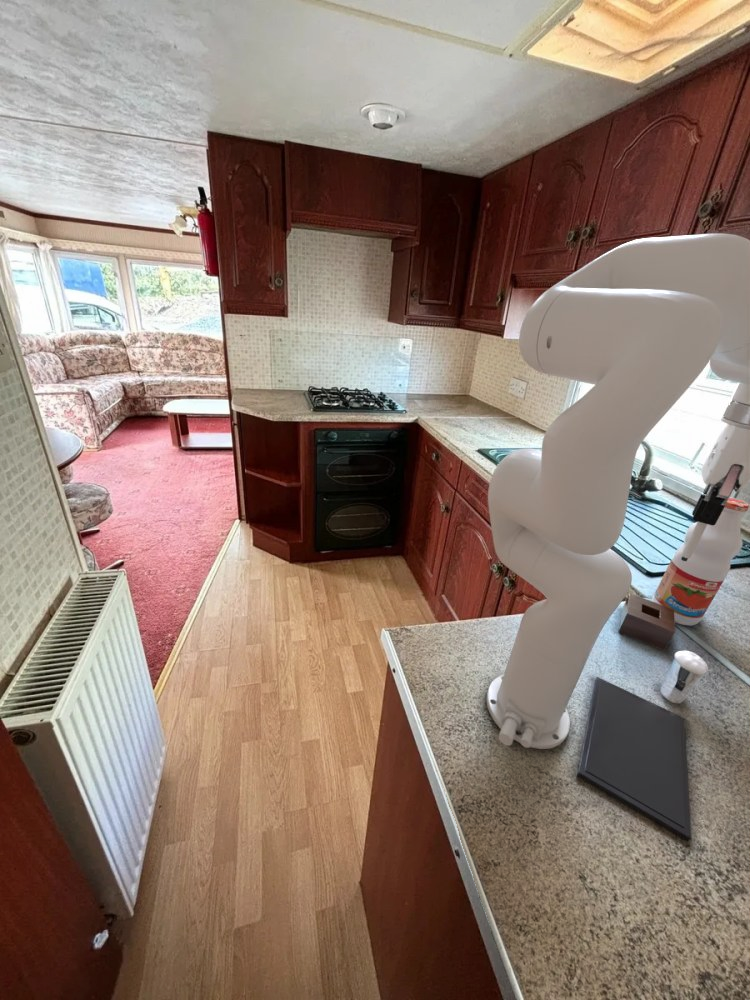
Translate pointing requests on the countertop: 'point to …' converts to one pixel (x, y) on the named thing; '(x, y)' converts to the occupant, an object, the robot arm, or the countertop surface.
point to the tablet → (637, 756)
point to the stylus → (693, 540)
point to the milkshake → (683, 675)
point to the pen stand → (647, 621)
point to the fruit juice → (702, 566)
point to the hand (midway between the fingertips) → (702, 519)
